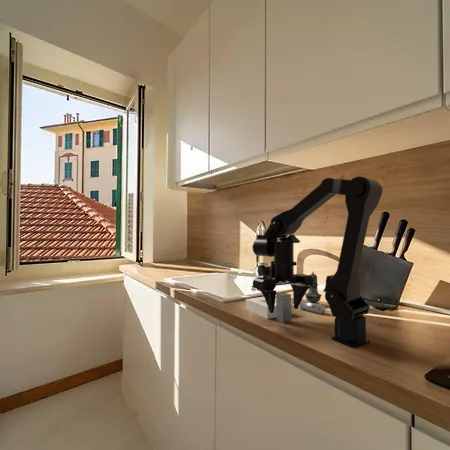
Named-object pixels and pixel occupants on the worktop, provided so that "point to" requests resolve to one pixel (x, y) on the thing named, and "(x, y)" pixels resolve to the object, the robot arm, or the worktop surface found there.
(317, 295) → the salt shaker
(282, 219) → the robot arm
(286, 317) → the square bit
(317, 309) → the round bit
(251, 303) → the socket block
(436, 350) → the worktop surface
